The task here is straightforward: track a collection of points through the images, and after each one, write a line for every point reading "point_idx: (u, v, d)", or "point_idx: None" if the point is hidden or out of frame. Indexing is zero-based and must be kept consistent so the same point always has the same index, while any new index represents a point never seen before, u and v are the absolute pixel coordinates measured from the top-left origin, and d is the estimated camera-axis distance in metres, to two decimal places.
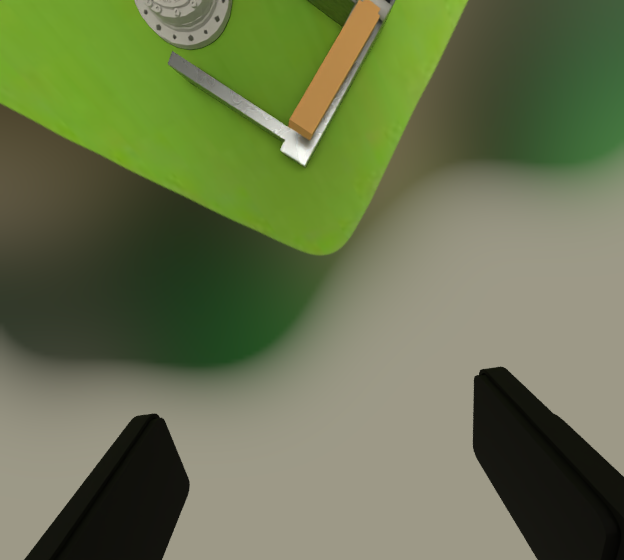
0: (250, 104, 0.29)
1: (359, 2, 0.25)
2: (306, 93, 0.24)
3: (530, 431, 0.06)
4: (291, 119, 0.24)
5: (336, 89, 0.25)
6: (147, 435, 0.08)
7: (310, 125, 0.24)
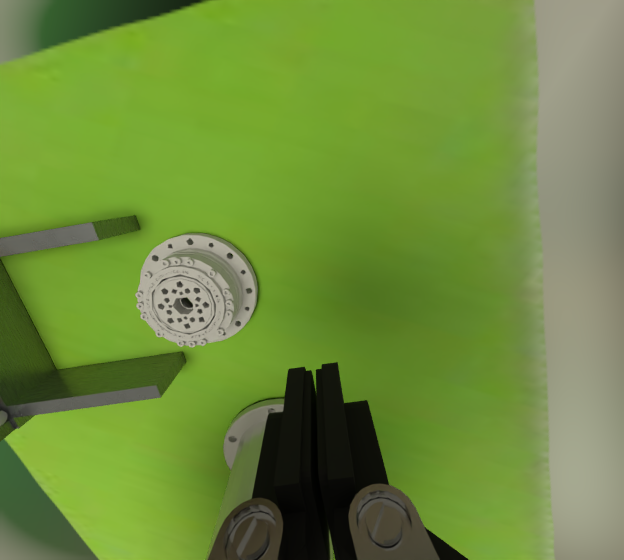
0: None
1: None
2: None
3: (320, 413, 0.07)
4: None
5: None
6: (310, 382, 0.09)
7: None
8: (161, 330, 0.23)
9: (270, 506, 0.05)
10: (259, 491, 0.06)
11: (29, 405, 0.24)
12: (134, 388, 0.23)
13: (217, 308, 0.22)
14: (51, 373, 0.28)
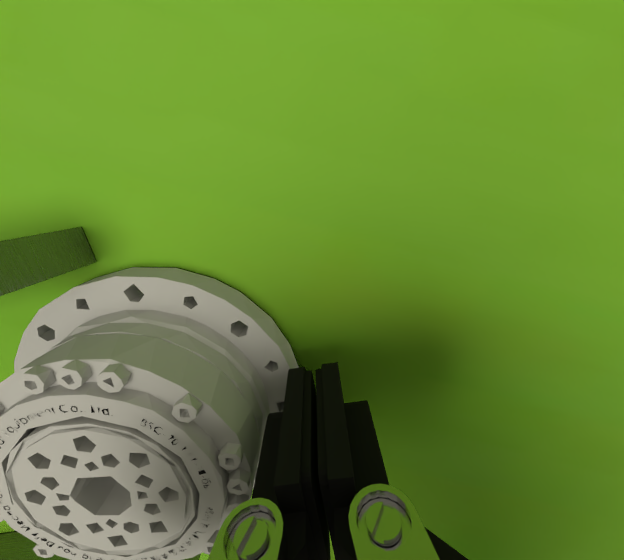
0: None
1: None
2: None
3: (320, 413, 0.07)
4: None
5: None
6: (310, 382, 0.09)
7: None
8: (48, 544, 0.08)
9: (270, 506, 0.05)
10: (259, 491, 0.06)
11: None
12: None
13: (204, 499, 0.08)
14: None
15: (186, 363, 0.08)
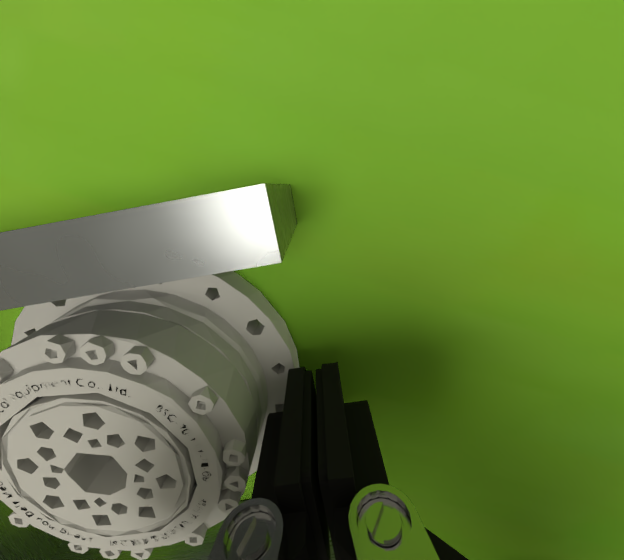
0: None
1: None
2: None
3: (320, 413, 0.07)
4: None
5: None
6: (310, 382, 0.09)
7: None
8: (26, 514, 0.08)
9: (270, 506, 0.05)
10: (259, 491, 0.06)
11: None
12: None
13: (199, 490, 0.08)
14: None
15: (205, 355, 0.08)
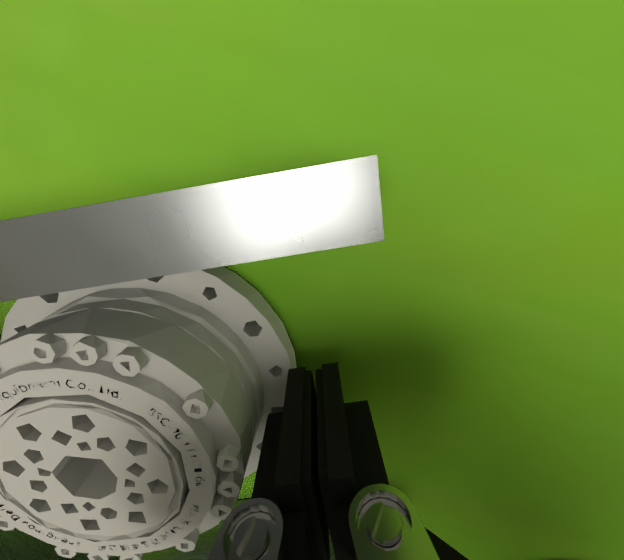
0: None
1: None
2: None
3: (320, 413, 0.07)
4: None
5: None
6: (310, 382, 0.09)
7: None
8: (11, 517, 0.08)
9: (270, 506, 0.05)
10: (259, 491, 0.06)
11: None
12: None
13: (191, 496, 0.07)
14: None
15: (201, 357, 0.07)
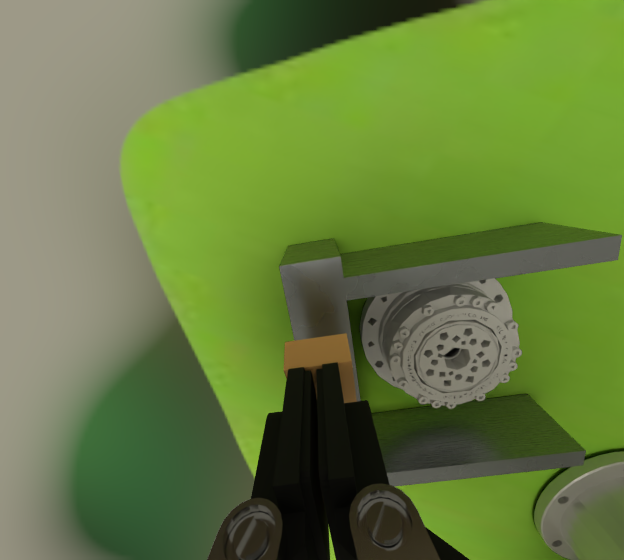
0: (438, 283, 0.14)
1: None
2: None
3: (321, 413, 0.07)
4: (347, 362, 0.09)
5: None
6: (310, 382, 0.09)
7: None
8: (407, 381, 0.17)
9: (270, 506, 0.05)
10: (259, 491, 0.06)
11: (402, 474, 0.18)
12: (551, 453, 0.18)
13: (495, 369, 0.17)
14: None
15: None
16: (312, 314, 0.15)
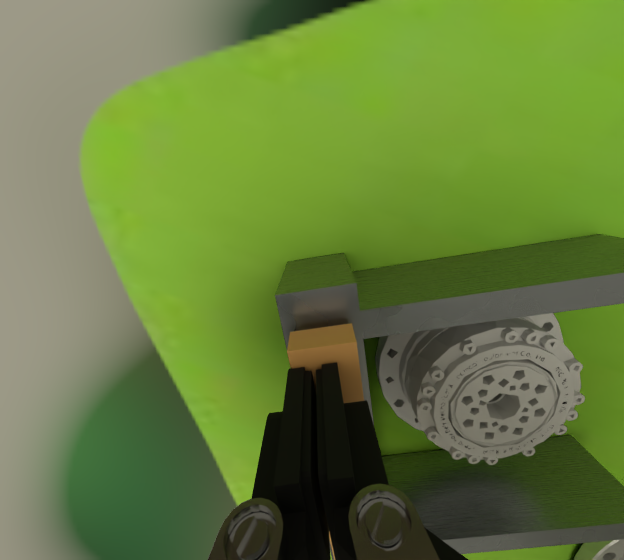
0: (484, 318, 0.11)
1: None
2: None
3: (320, 413, 0.07)
4: (352, 344, 0.09)
5: None
6: (310, 382, 0.09)
7: (304, 364, 0.09)
8: (438, 432, 0.14)
9: (270, 506, 0.05)
10: (259, 491, 0.06)
11: None
12: (614, 522, 0.14)
13: (550, 419, 0.13)
14: None
15: None
16: None
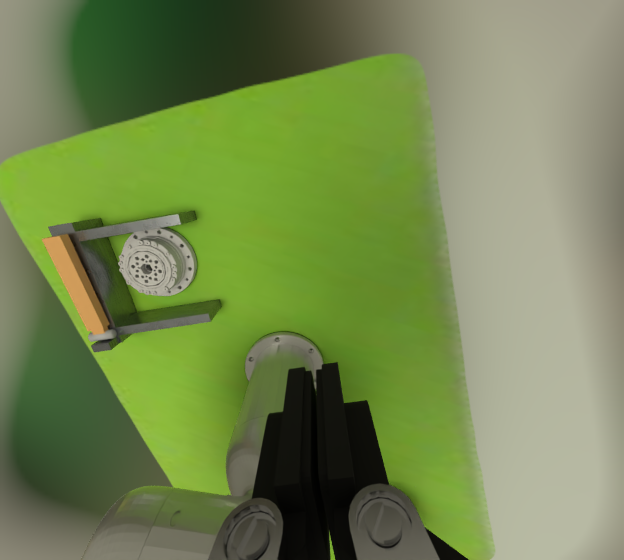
0: (114, 234, 0.35)
1: (101, 327, 0.37)
2: (69, 258, 0.34)
3: (320, 413, 0.07)
4: (58, 236, 0.33)
5: (60, 275, 0.35)
6: (310, 382, 0.09)
7: (47, 243, 0.34)
8: (130, 281, 0.38)
9: (270, 506, 0.05)
10: (259, 491, 0.06)
11: (130, 326, 0.39)
12: (194, 315, 0.39)
13: (166, 274, 0.38)
14: (134, 313, 0.43)
15: (168, 247, 0.38)
16: None
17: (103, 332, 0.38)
